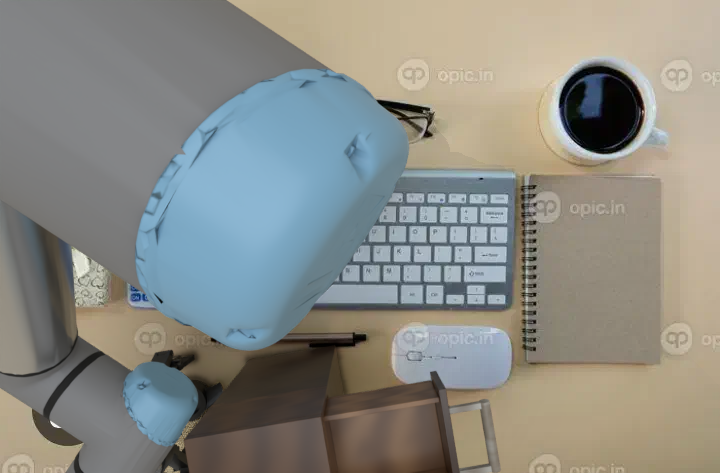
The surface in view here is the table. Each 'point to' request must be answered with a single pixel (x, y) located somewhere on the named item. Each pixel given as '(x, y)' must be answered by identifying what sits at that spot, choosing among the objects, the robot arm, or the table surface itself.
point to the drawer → (401, 431)
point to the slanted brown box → (269, 417)
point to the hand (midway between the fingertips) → (193, 398)
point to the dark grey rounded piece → (205, 397)
